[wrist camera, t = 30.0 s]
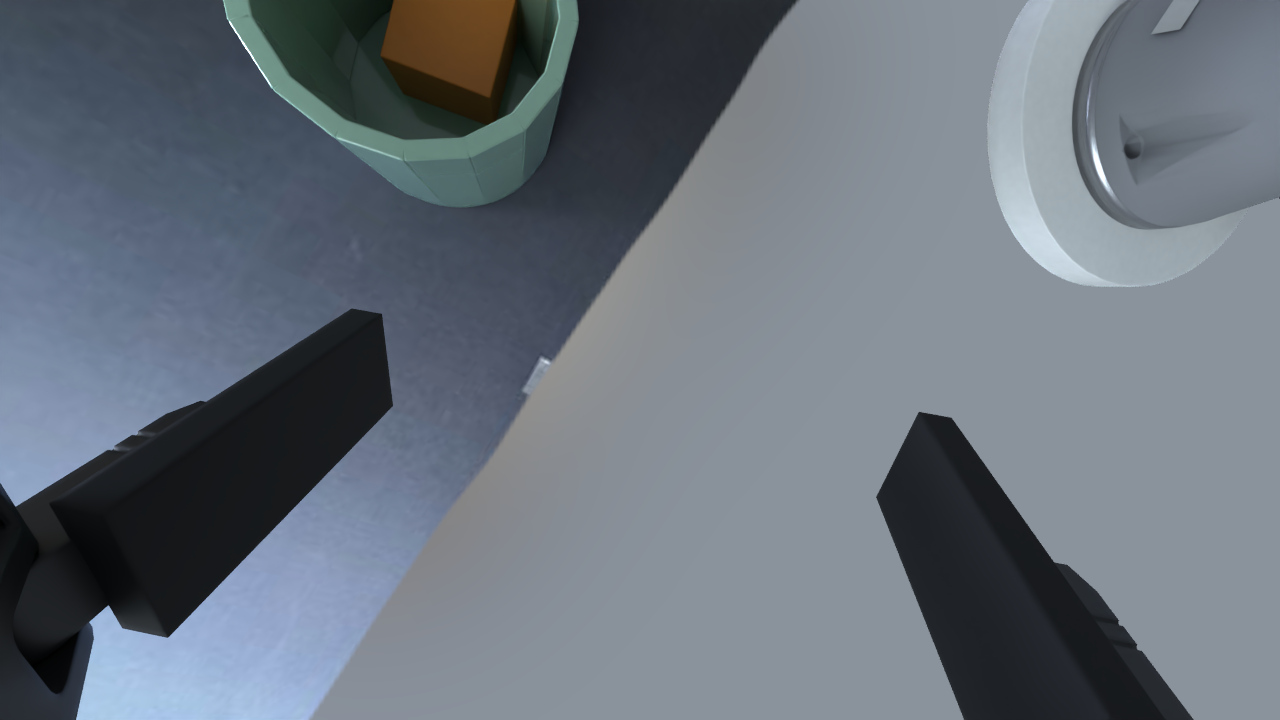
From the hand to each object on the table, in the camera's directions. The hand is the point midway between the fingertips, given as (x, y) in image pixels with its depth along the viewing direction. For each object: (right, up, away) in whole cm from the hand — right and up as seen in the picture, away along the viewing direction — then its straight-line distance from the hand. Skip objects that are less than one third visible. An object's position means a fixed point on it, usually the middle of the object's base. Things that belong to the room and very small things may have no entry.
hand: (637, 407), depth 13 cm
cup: (-9, +13, +11) cm, 19 cm away
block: (-8, +14, +10) cm, 19 cm away
